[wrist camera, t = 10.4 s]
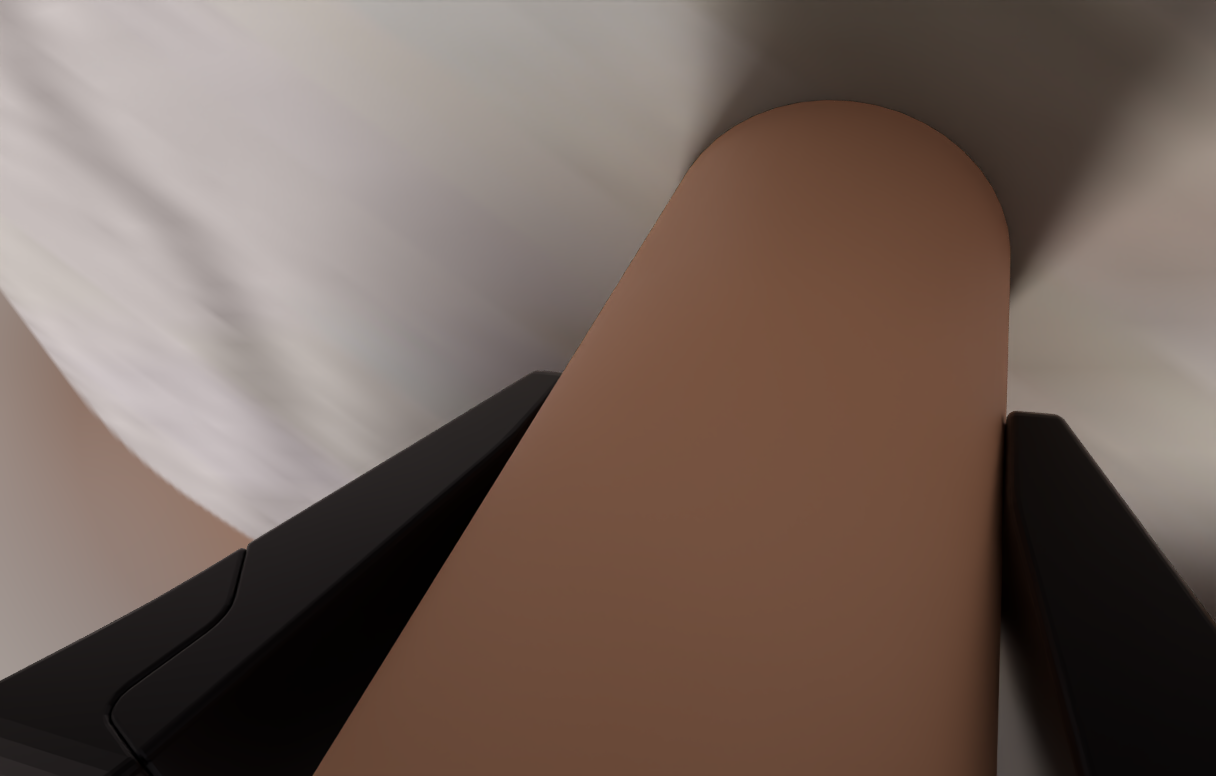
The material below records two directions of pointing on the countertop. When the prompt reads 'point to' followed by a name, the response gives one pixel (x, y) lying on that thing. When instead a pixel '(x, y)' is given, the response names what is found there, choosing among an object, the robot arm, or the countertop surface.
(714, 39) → the countertop surface
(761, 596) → the dowel
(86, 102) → the countertop surface
